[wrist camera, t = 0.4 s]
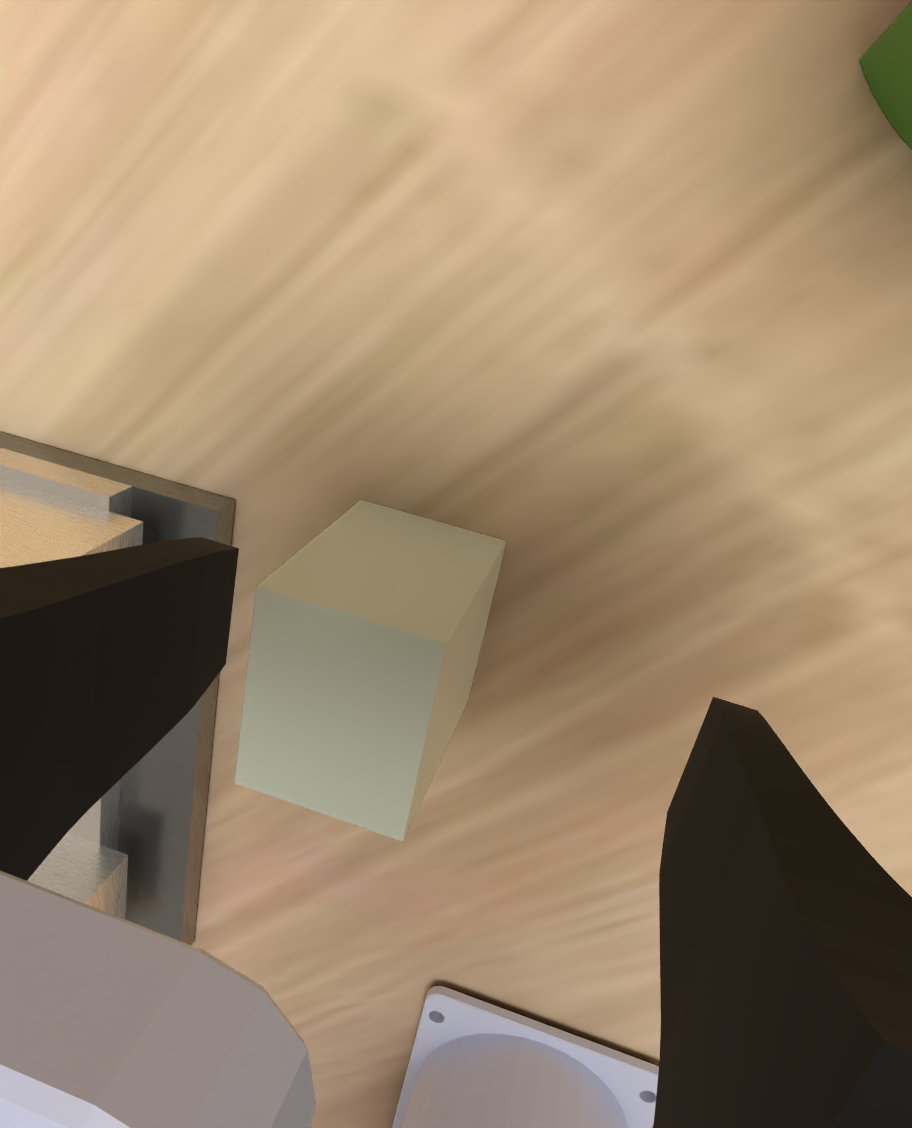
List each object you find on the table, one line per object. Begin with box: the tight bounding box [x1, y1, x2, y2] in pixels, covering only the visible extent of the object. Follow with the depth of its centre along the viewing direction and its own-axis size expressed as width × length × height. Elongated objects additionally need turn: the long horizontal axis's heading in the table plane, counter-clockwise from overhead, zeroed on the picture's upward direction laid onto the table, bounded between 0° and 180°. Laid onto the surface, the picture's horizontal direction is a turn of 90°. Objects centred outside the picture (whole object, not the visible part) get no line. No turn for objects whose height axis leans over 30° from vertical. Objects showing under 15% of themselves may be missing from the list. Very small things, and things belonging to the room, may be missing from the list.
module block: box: [235, 500, 507, 842], centre depth 20 cm, size 5×4×6 cm
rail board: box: [0, 432, 235, 945], centre depth 25 cm, size 17×9×6 cm, turn 168°
